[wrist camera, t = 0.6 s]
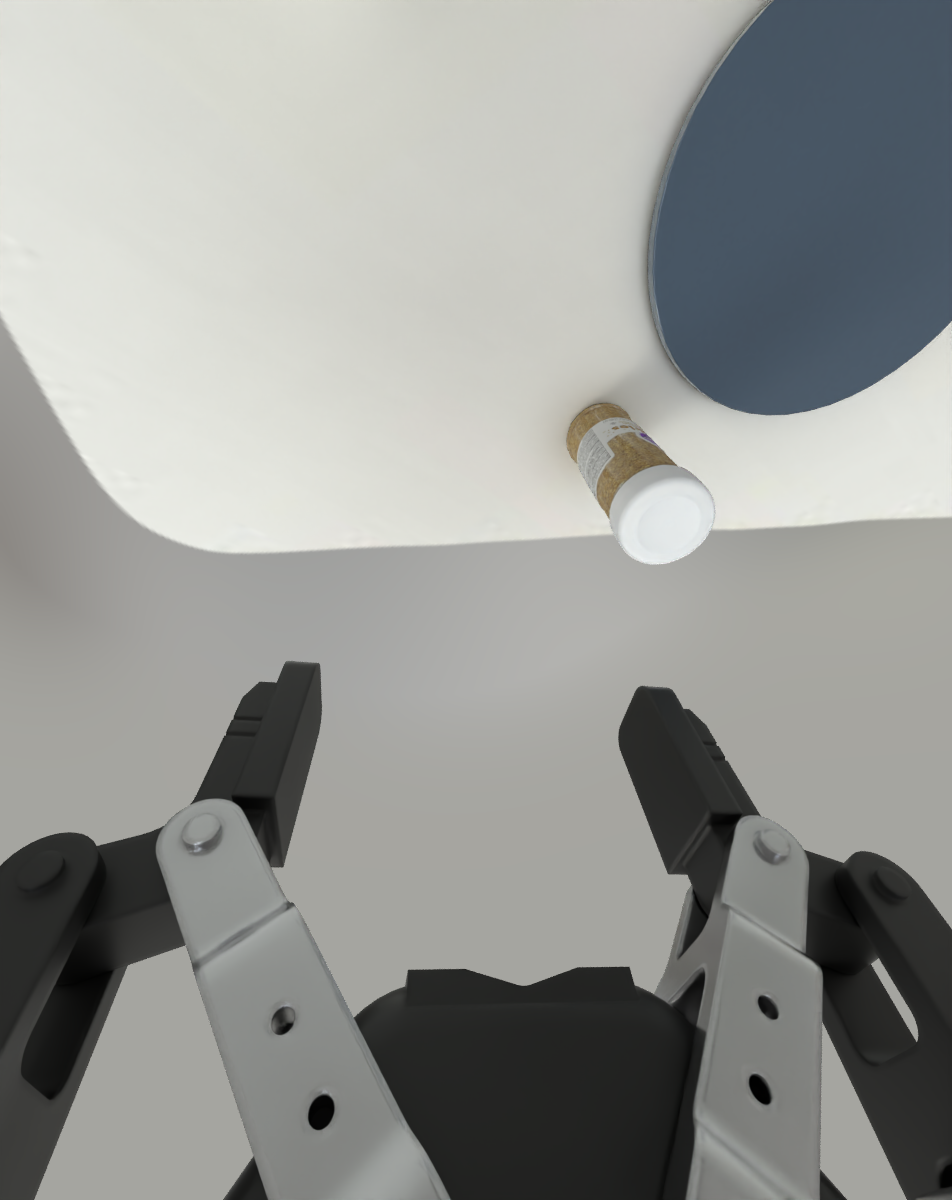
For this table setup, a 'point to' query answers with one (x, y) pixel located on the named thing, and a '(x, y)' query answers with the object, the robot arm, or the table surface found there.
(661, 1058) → the robot arm
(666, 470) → the sprinkles bottle
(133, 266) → the table surface
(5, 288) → the table surface
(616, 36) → the table surface
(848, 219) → the plate
